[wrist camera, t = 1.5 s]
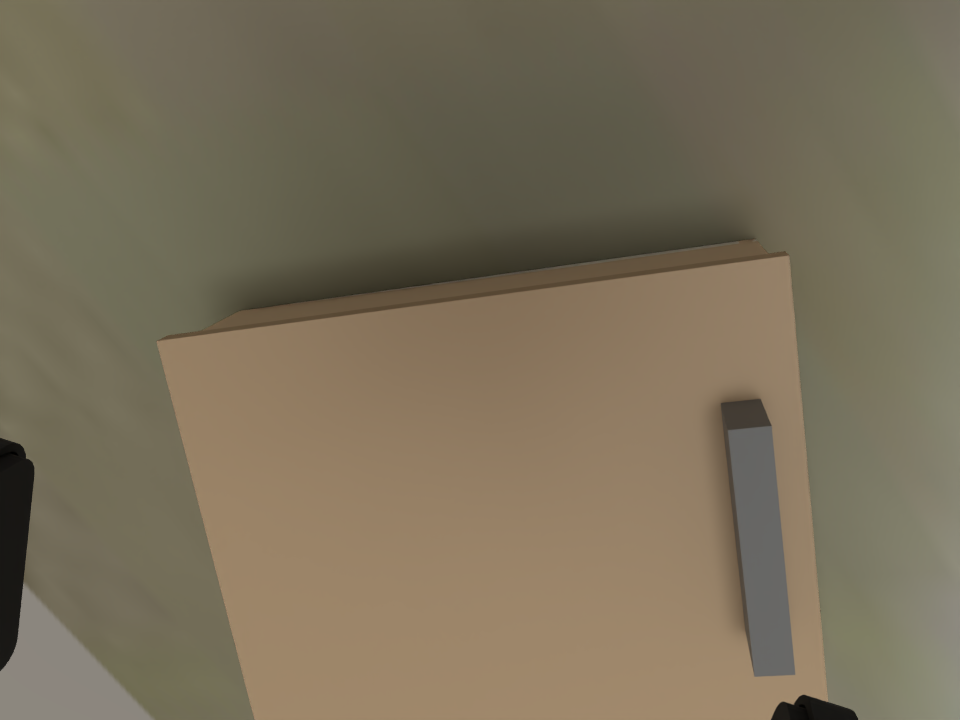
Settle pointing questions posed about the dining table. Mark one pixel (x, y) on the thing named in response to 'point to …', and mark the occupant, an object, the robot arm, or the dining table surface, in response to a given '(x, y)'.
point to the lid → (514, 501)
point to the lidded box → (496, 282)
